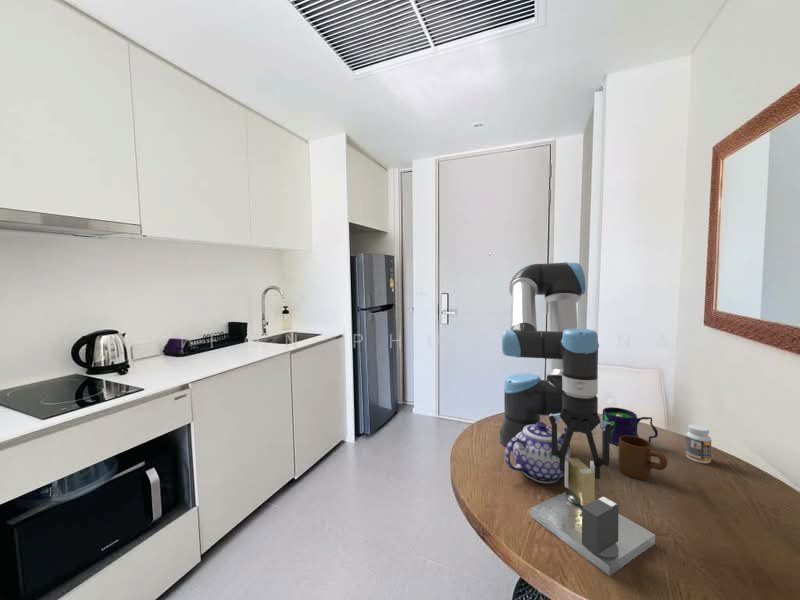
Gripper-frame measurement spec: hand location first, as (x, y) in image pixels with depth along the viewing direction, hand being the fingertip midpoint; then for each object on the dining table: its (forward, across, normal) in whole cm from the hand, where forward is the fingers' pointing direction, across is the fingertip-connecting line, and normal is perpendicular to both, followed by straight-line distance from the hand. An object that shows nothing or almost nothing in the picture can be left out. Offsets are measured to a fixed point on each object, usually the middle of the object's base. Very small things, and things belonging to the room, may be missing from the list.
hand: (579, 486), depth 79 cm
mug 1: (+6, +17, +43) cm, 47 cm away
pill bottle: (+5, +34, +39) cm, 52 cm away
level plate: (+5, +2, -8) cm, 9 cm away
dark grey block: (+3, +3, -15) cm, 15 cm away
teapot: (+5, -9, +12) cm, 16 cm away
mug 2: (+5, +17, +21) cm, 27 cm away
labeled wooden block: (+3, 0, 0) cm, 3 cm away
